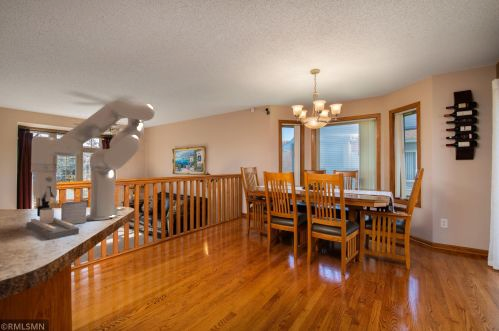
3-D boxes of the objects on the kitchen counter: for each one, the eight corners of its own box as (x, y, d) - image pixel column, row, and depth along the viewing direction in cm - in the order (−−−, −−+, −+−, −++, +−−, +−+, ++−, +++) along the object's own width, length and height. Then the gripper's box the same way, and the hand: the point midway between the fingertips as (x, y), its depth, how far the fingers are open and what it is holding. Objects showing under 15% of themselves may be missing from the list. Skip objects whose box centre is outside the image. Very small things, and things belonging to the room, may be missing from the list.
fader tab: (50, 221, 89) (50, 206, 89) (53, 222, 87) (53, 207, 87) (39, 222, 86) (39, 208, 86) (42, 224, 84) (43, 209, 84)
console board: (52, 223, 93) (53, 215, 93) (78, 233, 81) (79, 224, 81) (26, 227, 87) (26, 218, 87) (50, 239, 74) (50, 229, 74)
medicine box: (84, 220, 99) (84, 201, 99) (86, 222, 96) (86, 202, 96) (60, 223, 93) (61, 202, 93) (62, 226, 90) (62, 204, 90)
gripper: (63, 169, 88) (62, 216, 87) (50, 168, 96) (48, 211, 96) (38, 169, 81) (36, 220, 81) (25, 168, 89) (24, 214, 89)
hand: (43, 215), depth 88 cm, fingers closed
